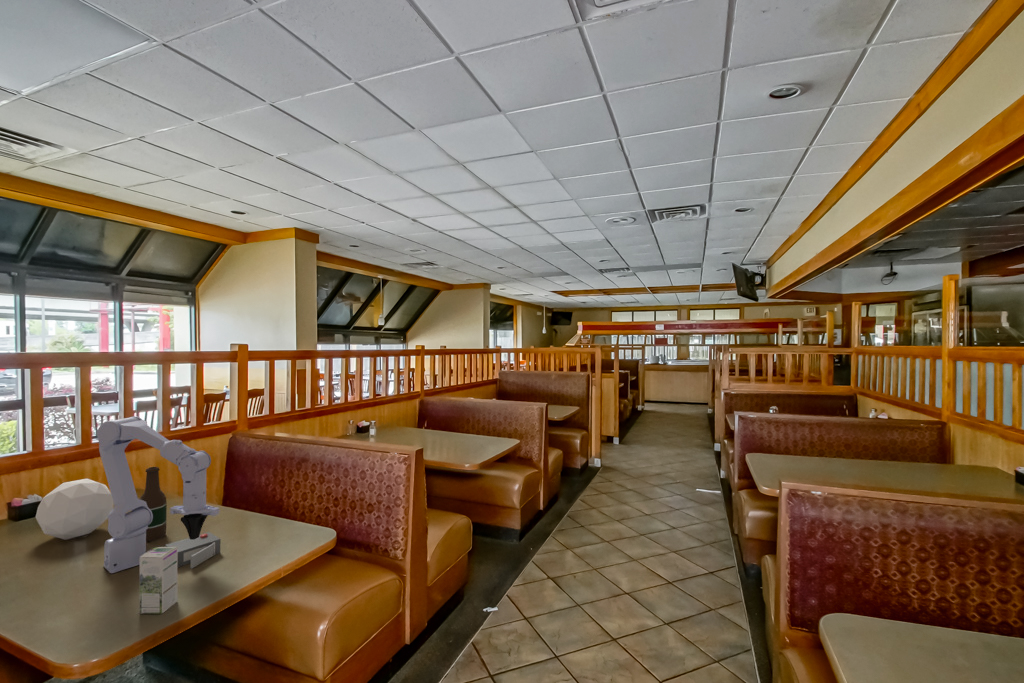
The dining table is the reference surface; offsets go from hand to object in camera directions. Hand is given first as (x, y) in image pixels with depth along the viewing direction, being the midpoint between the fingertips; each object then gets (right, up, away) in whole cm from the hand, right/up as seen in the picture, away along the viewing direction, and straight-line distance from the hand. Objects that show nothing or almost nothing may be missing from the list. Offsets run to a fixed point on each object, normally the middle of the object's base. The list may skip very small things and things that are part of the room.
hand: (194, 538), depth 136 cm
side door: (+2, -8, +2) cm, 8 cm away
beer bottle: (-28, -8, +19) cm, 35 cm away
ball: (-55, -8, +20) cm, 60 cm away
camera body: (-4, -8, +6) cm, 11 cm away
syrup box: (+7, -8, -22) cm, 24 cm away
